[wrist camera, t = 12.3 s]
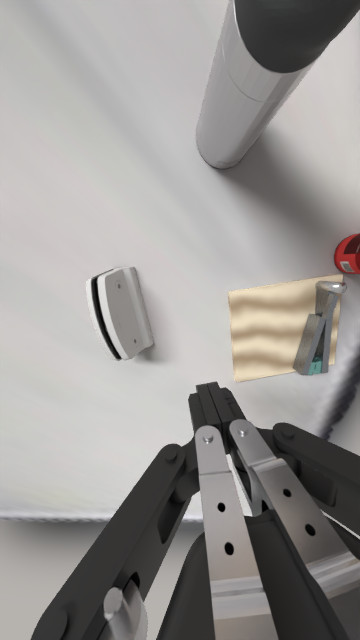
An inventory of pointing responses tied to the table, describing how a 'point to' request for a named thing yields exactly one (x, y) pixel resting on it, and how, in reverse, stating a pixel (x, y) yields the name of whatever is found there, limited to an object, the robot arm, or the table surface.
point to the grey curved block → (119, 313)
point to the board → (273, 326)
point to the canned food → (348, 255)
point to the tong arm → (313, 337)
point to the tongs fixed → (325, 339)
